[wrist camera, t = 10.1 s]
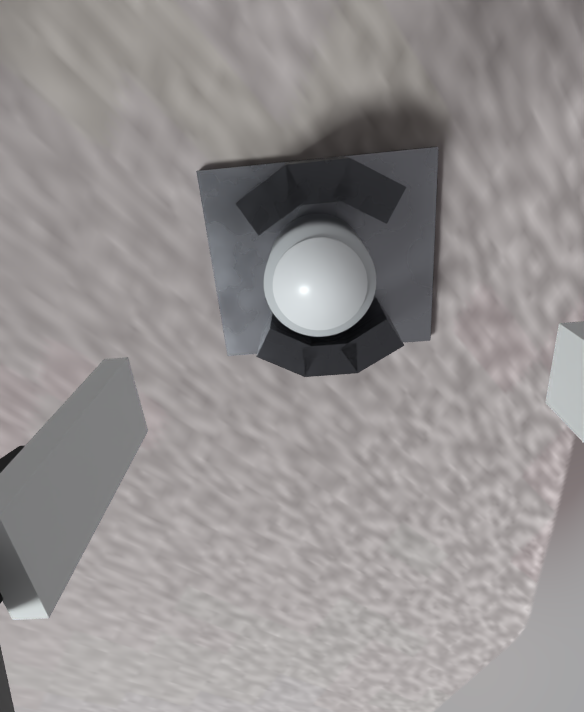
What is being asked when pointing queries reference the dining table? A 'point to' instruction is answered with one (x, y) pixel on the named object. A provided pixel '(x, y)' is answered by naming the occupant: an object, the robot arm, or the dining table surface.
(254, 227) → the ball joint mount
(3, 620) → the dining table surface
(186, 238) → the dining table surface
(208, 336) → the dining table surface
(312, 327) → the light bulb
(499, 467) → the dining table surface
